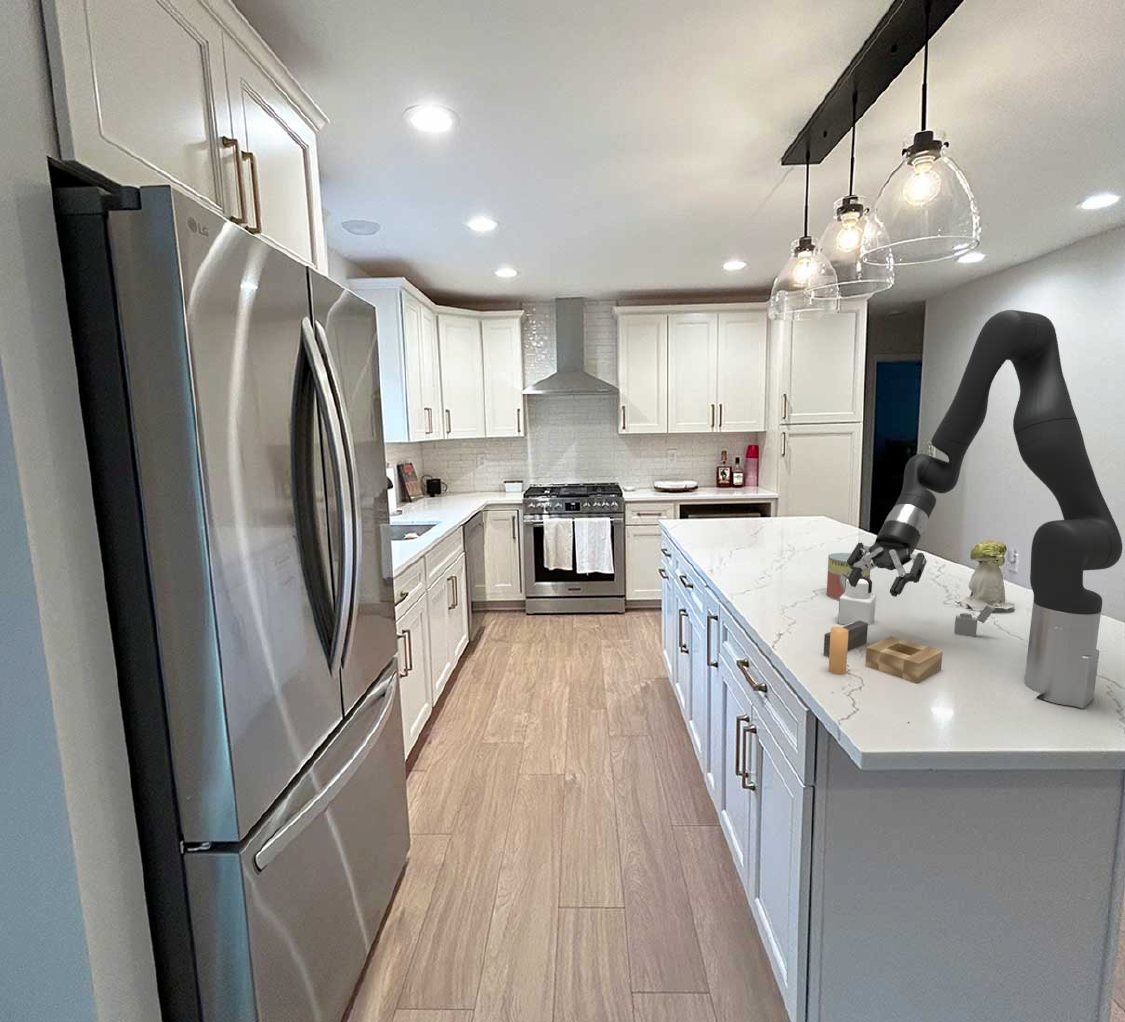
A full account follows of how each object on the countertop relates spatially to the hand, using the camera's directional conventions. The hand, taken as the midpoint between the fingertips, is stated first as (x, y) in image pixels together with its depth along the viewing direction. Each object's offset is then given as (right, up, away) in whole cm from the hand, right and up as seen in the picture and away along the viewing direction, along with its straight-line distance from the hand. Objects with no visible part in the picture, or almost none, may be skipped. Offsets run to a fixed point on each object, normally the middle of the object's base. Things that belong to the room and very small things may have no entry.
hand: (871, 589), depth 117 cm
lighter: (+33, -13, +15) cm, 38 cm away
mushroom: (+51, -10, +36) cm, 63 cm away
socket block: (+4, -16, -3) cm, 17 cm away
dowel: (-9, -17, -4) cm, 20 cm away
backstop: (+2, -16, 0) cm, 17 cm away
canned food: (+19, -9, +47) cm, 51 cm away
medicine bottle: (+10, -12, +26) cm, 30 cm away
